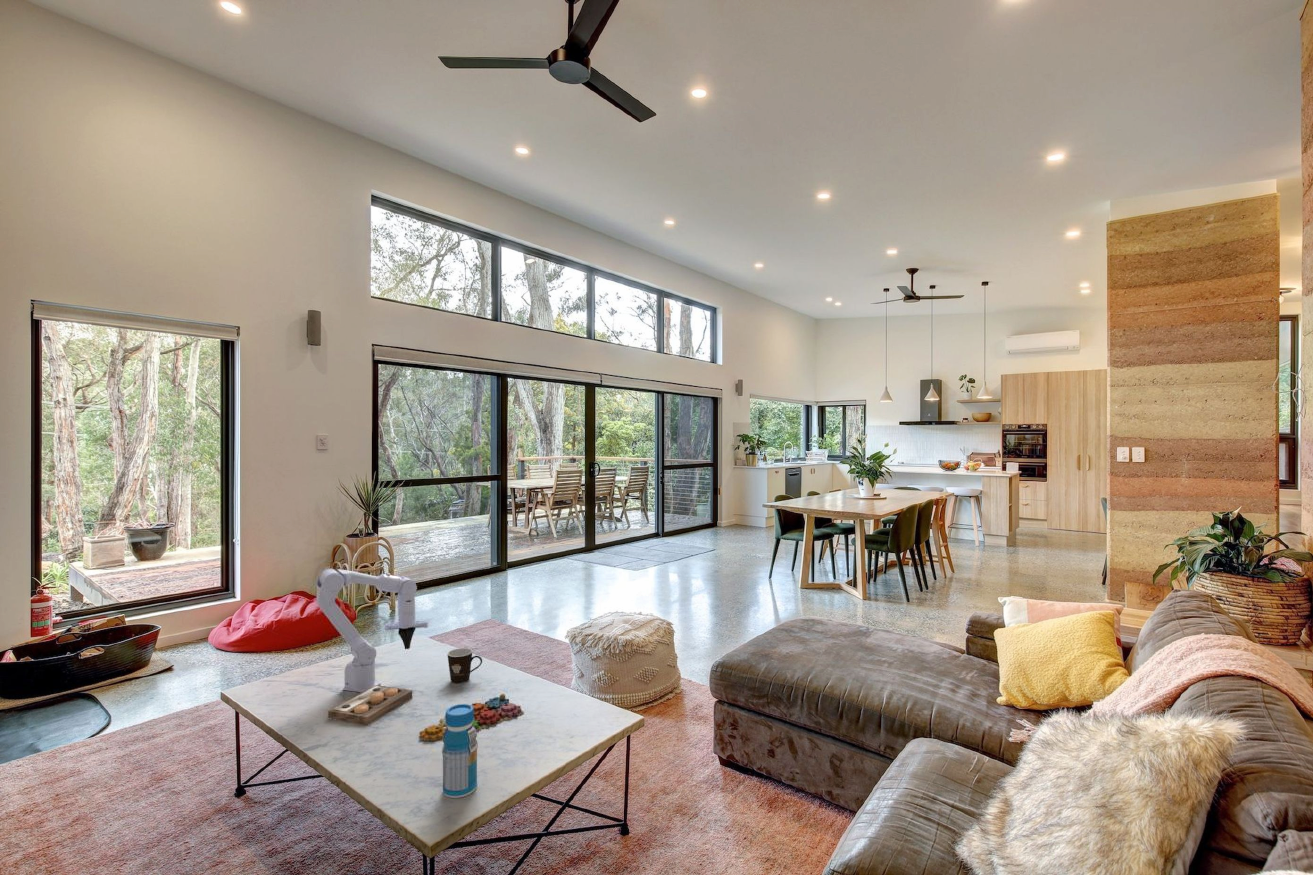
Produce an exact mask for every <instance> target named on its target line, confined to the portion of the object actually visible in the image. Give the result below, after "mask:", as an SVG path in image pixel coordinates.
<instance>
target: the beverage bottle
mask: <svg viewBox="0 0 1313 875" xmlns="http://www.w3.org/2000/svg"><path fill="white" fill-rule="evenodd" d="M471 705H472V704H469V703H459V704H454V705H452V706H450V707H448V708H447V709H446V710H445V716H444V718H445V717H446V726H447V727H446V726H445V728H446V730H445V732H444V735H443V738H442V739H441V740H442V743H443V744H442V747H441V754H442V793H443V795H444V796H446V797H448V798H452V799H459V798H463V797H464V798H465V797H466V796H467V797H468V796H469V795H470V794H472V793H473V792H474V791H475V790H476V789H477V786H478V744H479V743H478V740H477V737H478V731H476V729H475V727H474V725H473V724H472V723H473V720H474V708H473V706H471Z"/></svg>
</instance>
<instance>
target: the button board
mask: <svg viewBox="0 0 1313 875" xmlns="http://www.w3.org/2000/svg"><path fill="white" fill-rule="evenodd" d="M390 688H394V687H391V686H385V685H375V686H373V687H371V688H369V689H367V690H366V691H364V692H359V693H358V694H356V695H355V696H353V697H351V698H349V699H347V700H345V701H344V702H342V703H339V704H338V705H336V706H333V707H332V708H330V709H329V710H328V711H327V712H328V713H327V719H328V718H331V719H330V720H333V719H336V720H335V721H340V722H345V723H351V724H357V725H363V726H369V725H370V724H372V723H374V722H375V721H377V720H378V719H381V717H383V716H386V714H388V713H391V711H394V710H395V709H396V708H398V707H399V706H401V705H403V704H405V703H407V702H408V701H409V700H411V699H412V698H413V690H412V689H405V688H400V687H399V688H398V687H396V688H397V689H398V694H396V695H394V696H392V697H391V696H385V690H387V689H390ZM376 692H383V693H384V701H383V702H382V703H379V704H370V695H371V694H373V693H376ZM359 705H368V706H369V711H367V712H365V713H363V714H356V713H354V708H355V707H356V706H359Z"/></svg>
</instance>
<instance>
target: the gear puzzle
mask: <svg viewBox="0 0 1313 875" xmlns="http://www.w3.org/2000/svg"><path fill="white" fill-rule="evenodd" d="M470 705H471V706H473V708H474V720H473V723H472V724H473V725H474V727H475V729H476V731H477V732H480V731H482V730H484V729H489V728H490V727H492V726H491V725H493V724H496V725H498V724H501V723H503V722H504V721H510V720H511V719H513V717H515V716H517V717H520V716H522V715H524V714H525V712H524V711H523V710H522V708H521V705H517V704H516V703H512V702H511V703H510V699H509V698H506V695H505V694H504V693H501V694H500V695H499V697H498V696H495V697H493V698H489V699H488V700H487V701H485V702H484V703H482V702H475V703H472V704H470ZM492 723H493V724H492ZM446 728H447V726H446V717H445V716H444V717H443V718H441V719H439V723H438V724H436V725H435V724H432V725H429V726H428V727H425V728H424V729H423V730H421V731H419V737H418V738H419V739H424V741H429V740H430V741H432V742H434V741H435V740H437V739H439V740H440V739H441V740H442V739H443V735H444V732H445V730H446Z"/></svg>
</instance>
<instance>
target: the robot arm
mask: <svg viewBox="0 0 1313 875" xmlns="http://www.w3.org/2000/svg"><path fill="white" fill-rule="evenodd" d="M315 584H316V603H317V606H318V607H319V609H320V610H321V611H322V613H323V614H324V615H325V616H326V617H327V619H328V620H329V621H330V623H331V625H333V627H334V628H335V629H336V631H337V632H339V635H341V637H342V639H344V641H345V642H346V644H347V645H348V647H349V648H350V654H351V655H352V656H353V659H352V660H350V661H348V662H347V663H346V665H345V667H344V687H343V688H342V690H343V691H349V692H355V693H362V692H364V691H366V690H367V689H369V688H371V687H373V686H375V685H379V686H381V684H382V683H381V682H380V681H376V657H377V649H376V648H375V647H374V646H372V645H371V644H370V642H369V641H368V640H367V639H364V638H363V637H362V635H361V634H360V633H359V632H358V630H357V628H355V626H354V625H353V624H352V623H351V620H350V619H348V617H347V616H346V615H345V613H344V612H343V610H342V609H341V608H340V607H339V605H338V604H337V603H336V599H337V595H338V593H339V592H340V591H341V590H342V589H343V587H348V586H350V585H351V584H360V585H366V586H375V588H376V589H377V591H382V592H388V593H395V594H397V611H398V612H397V613H398V615H397V617H398V618H397V619H398V621H397V622H391V623H386V624H385V628H384V629H385V631H387V632H388V631H389V630H391V631H392V630H398V631H397V634H398V635H399V637H400V638H401V641H402V642H403V646H404V649H405V650H409V649H410V648H411V644H412V639H413V636H414V634H415V631H416V629H421V628H424V629H428V628H429V621H428V620H416V598H415V593H416V591H417V589H418V586H417V584H416V582H415V580H413V579H411V578H409V577H407V576H403V575H400V576H396V575H391V573H390V572H385V573H381V574H379V575H378V576H376V575H371V574H368V573H362V572H358V571H353V570H347V569H338V568H337V569H334V568H325V569H324V570H322V571H321V572H320V573H319V575H318V577H317V580H316V583H315Z"/></svg>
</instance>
